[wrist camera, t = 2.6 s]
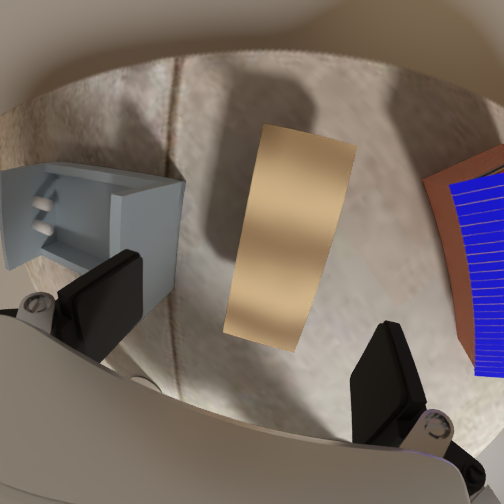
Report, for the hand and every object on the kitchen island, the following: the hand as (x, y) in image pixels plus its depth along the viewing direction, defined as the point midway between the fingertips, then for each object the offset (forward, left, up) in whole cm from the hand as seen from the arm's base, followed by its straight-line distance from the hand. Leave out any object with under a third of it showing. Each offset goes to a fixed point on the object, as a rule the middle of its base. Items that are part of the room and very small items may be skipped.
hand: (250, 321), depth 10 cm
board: (0, 0, -12) cm, 12 cm away
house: (+3, -22, -17) cm, 27 cm away
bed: (-4, +21, -16) cm, 27 cm away
